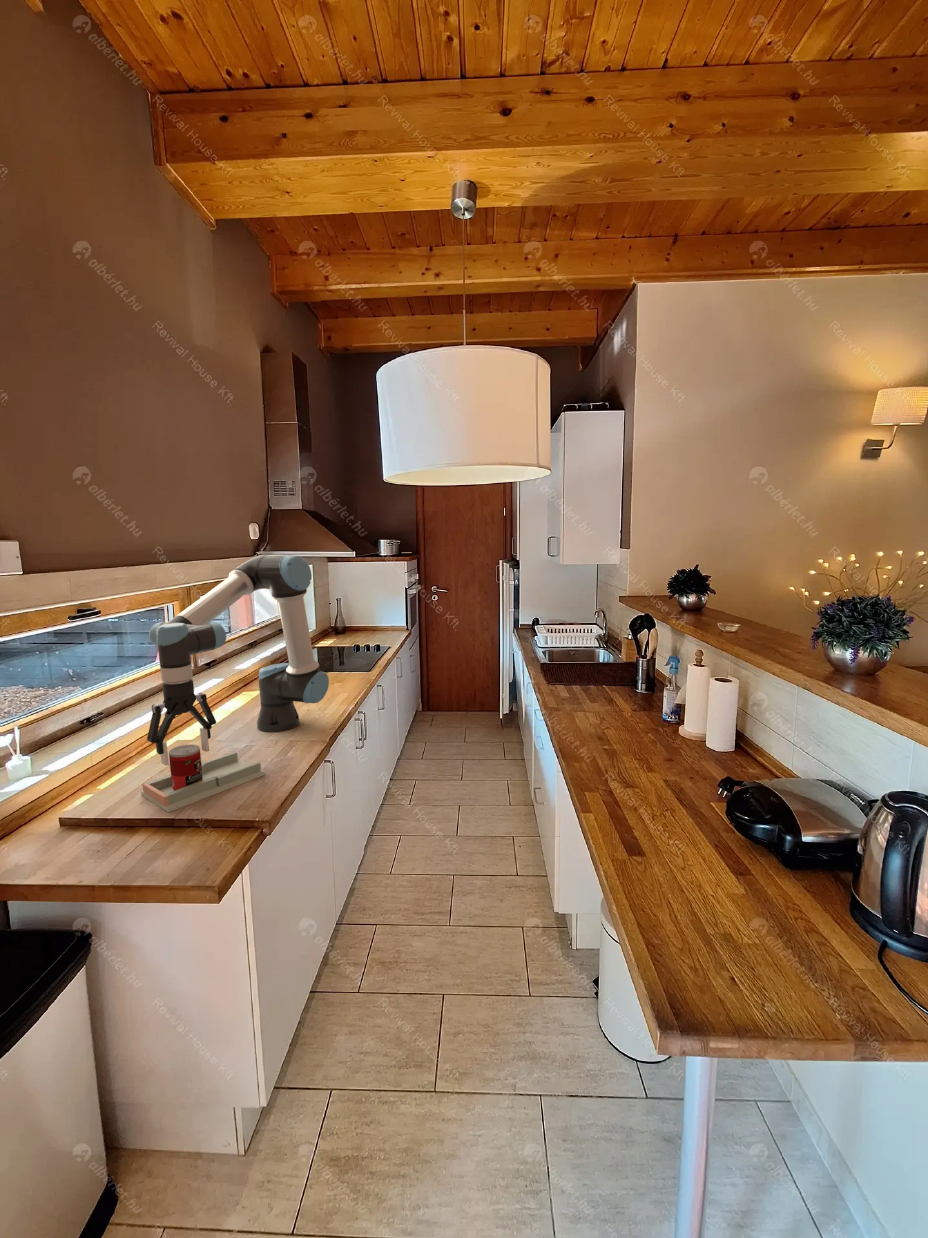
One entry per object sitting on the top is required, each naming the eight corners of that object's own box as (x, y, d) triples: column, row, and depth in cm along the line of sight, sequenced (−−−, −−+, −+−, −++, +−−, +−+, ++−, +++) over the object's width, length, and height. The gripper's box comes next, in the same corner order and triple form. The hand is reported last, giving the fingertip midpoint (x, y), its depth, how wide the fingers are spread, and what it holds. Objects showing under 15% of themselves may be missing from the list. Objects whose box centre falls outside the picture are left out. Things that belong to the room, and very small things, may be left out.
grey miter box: (236, 761, 174) (235, 750, 174) (264, 774, 165) (263, 763, 164) (141, 795, 153) (140, 782, 152) (168, 812, 143) (166, 799, 142)
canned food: (191, 794, 150) (187, 756, 148) (165, 791, 152) (161, 754, 150) (209, 782, 158) (206, 745, 156) (184, 779, 159) (181, 743, 157)
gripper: (211, 669, 161) (218, 740, 165) (125, 688, 143) (135, 768, 147) (224, 673, 156) (231, 746, 160) (138, 693, 139) (148, 775, 142)
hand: (186, 757), depth 154 cm, fingers open, 10 cm apart
